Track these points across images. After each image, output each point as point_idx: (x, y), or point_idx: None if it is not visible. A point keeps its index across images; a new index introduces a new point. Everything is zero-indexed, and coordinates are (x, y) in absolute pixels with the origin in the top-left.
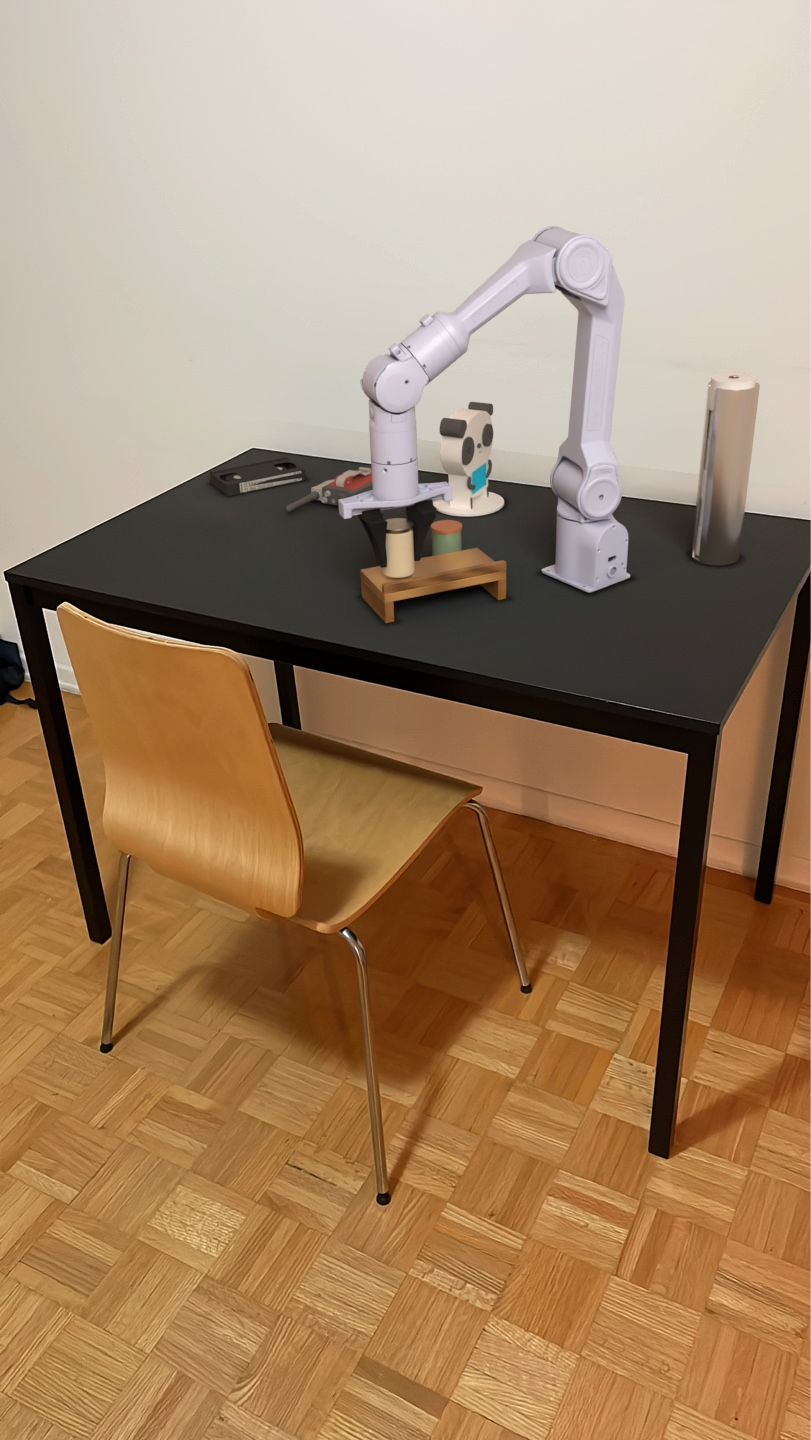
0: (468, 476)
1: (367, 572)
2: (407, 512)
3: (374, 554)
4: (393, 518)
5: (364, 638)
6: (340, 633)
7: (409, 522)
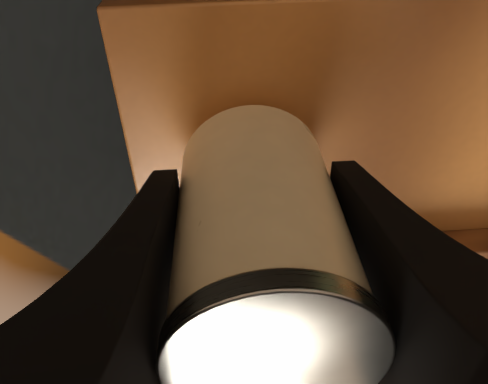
0: None
1: (127, 62)
2: (434, 328)
3: (140, 190)
4: (302, 295)
5: (88, 243)
6: (22, 203)
7: (365, 368)
